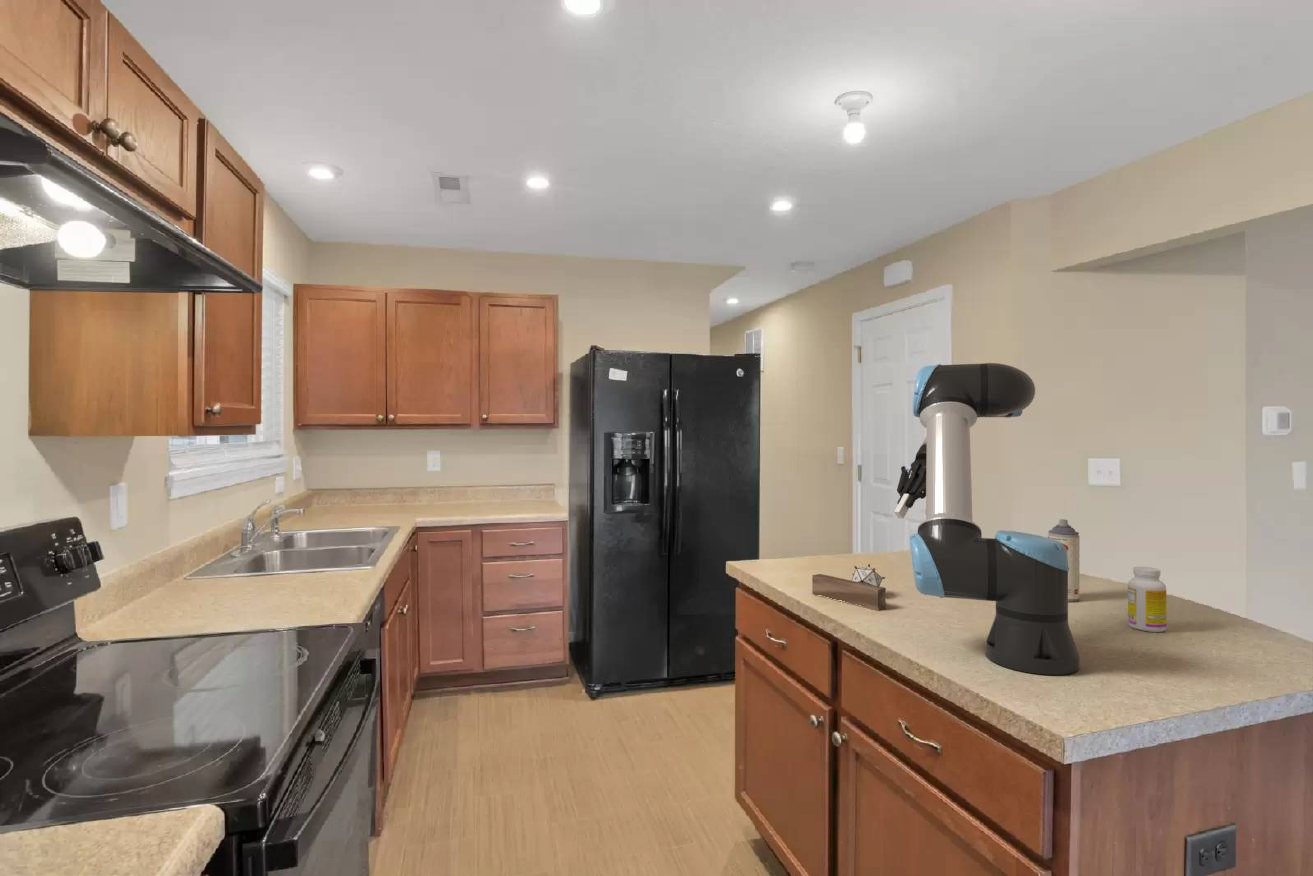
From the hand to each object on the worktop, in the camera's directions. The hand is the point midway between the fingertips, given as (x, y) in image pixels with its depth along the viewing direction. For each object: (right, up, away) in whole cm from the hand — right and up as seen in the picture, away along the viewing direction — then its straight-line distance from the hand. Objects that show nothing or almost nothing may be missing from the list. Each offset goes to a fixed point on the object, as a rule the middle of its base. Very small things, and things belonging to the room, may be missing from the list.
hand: (898, 515), depth 179 cm
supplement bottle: (+40, -20, -36) cm, 58 cm away
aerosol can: (+38, -20, -11) cm, 44 cm away
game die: (-11, -20, -8) cm, 24 cm away
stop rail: (-17, -20, -12) cm, 29 cm away
